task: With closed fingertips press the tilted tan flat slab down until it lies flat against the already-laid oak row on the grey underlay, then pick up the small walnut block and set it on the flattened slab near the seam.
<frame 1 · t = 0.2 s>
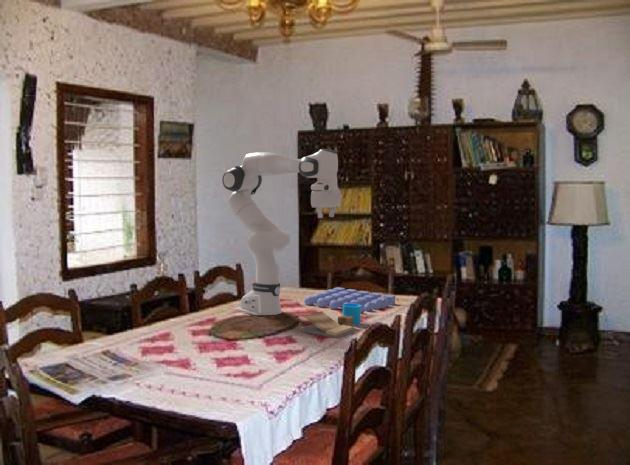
hand: (325, 217, 306), 47 cm above the table, fingers open, 8 cm apart
underlay: (326, 331, 295), on the table
blue flat bumpy slab: (349, 305, 354), on the table
block: (345, 328, 302), on the table
mug: (352, 322, 314), on the table
tan flat slab: (323, 321, 295), point 4 cm above the table, hinge at 25.0°
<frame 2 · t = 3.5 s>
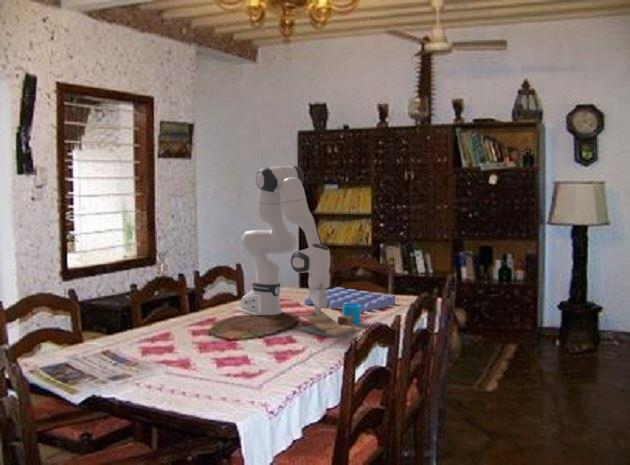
hand: (317, 314, 296), 7 cm above the table, fingers closed
tan flat slab: (323, 321, 295), point 4 cm above the table, hinge at 25.0°, touching gripper
everything else where it was.
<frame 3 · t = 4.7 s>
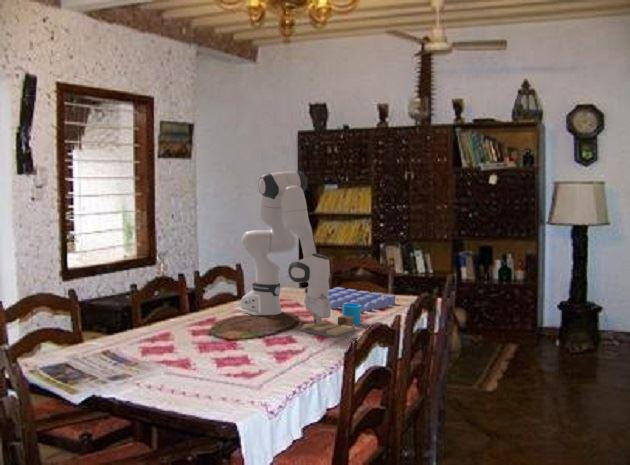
hand: (317, 323, 297), 3 cm above the table, fingers closed on tan flat slab
tan flat slab: (321, 326, 296), point 2 cm above the table, hinge at 1.8°, touching gripper
everything else where it was.
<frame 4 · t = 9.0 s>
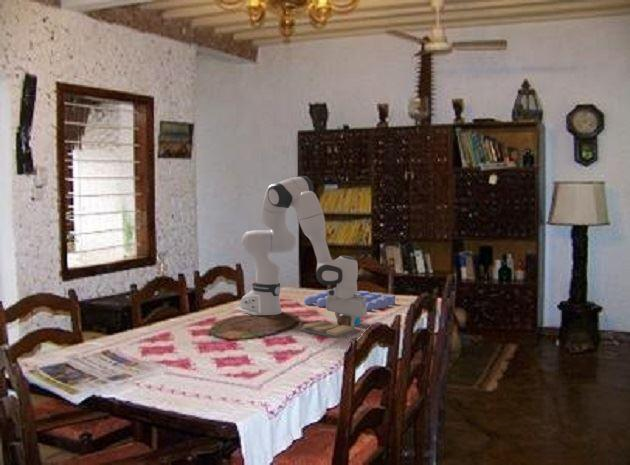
hand: (345, 324, 302), 2 cm above the table, fingers closed on block, 5 cm apart
block: (345, 327, 302), on the table, touching gripper
tan flat slab: (321, 326, 296), point 2 cm above the table, hinge at 1.8°
everything else where it was.
when the fingers open (5 cm above the table, at t = 13.7 s): block drops 1 cm, resting on tan flat slab.
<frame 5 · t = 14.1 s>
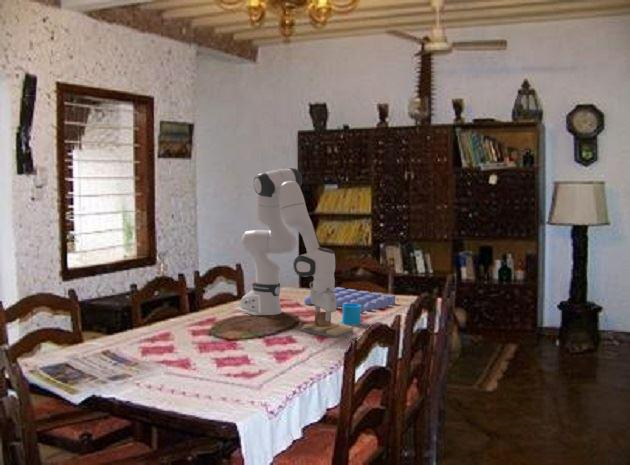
hand: (322, 318, 295), 5 cm above the table, fingers open, 8 cm apart
block: (322, 324, 296), point 2 cm above the table, touching tan flat slab
tan flat slab: (321, 326, 296), point 2 cm above the table, hinge at 1.3°, touching block
everything else where it was.
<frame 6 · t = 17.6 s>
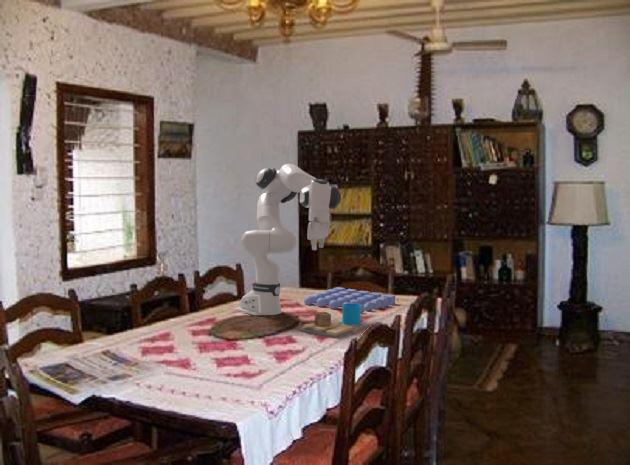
hand: (317, 248, 300), 34 cm above the table, fingers open, 8 cm apart
nothing on the table moved.
at the end: tan flat slab at +1° (first picture: +25°); block inside the target area (0.4 cm from its centre), point 2.5 cm above the table; block tilted 1° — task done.
